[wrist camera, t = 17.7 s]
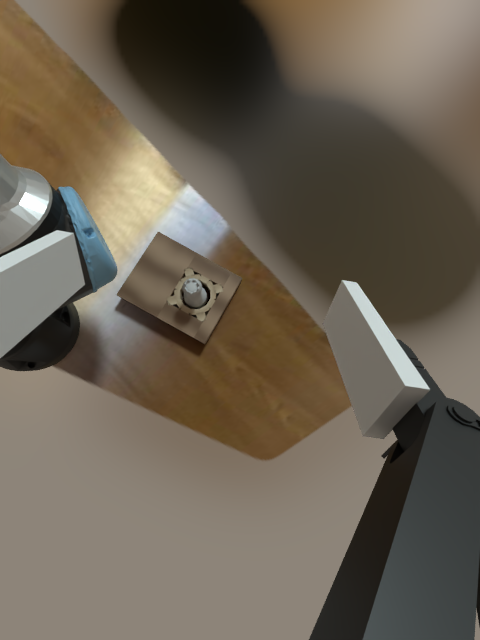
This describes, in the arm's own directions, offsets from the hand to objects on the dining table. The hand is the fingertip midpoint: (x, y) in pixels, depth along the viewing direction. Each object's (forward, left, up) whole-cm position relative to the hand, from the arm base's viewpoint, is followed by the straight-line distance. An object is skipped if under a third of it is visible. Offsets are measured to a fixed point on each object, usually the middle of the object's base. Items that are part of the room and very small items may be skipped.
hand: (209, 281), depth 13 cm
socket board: (+5, +10, -36) cm, 37 cm away
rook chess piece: (+5, +7, -36) cm, 37 cm away
